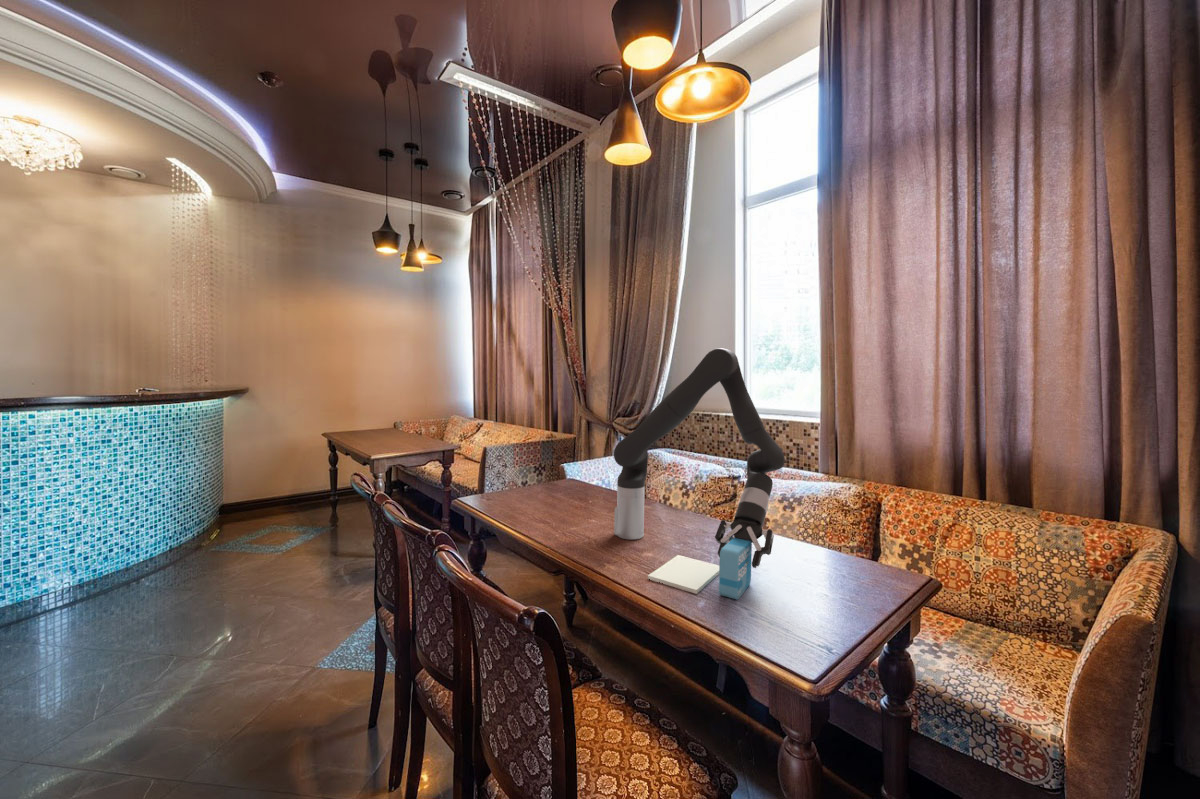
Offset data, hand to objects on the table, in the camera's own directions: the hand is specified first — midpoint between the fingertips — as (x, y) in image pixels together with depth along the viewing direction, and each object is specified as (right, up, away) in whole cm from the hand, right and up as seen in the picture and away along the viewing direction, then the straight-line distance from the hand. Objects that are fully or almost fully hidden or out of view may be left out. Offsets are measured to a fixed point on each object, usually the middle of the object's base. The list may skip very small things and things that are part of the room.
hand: (737, 562), depth 119 cm
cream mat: (-11, -7, +9) cm, 16 cm away
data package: (-1, -7, 0) cm, 7 cm away
